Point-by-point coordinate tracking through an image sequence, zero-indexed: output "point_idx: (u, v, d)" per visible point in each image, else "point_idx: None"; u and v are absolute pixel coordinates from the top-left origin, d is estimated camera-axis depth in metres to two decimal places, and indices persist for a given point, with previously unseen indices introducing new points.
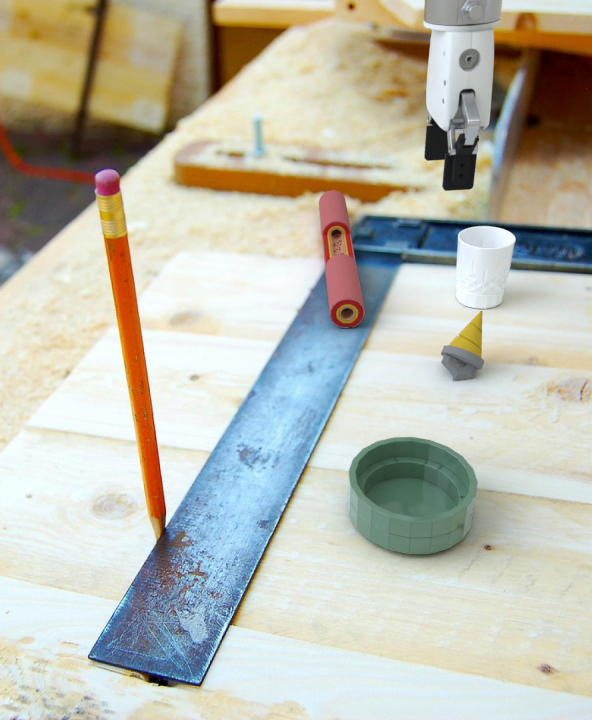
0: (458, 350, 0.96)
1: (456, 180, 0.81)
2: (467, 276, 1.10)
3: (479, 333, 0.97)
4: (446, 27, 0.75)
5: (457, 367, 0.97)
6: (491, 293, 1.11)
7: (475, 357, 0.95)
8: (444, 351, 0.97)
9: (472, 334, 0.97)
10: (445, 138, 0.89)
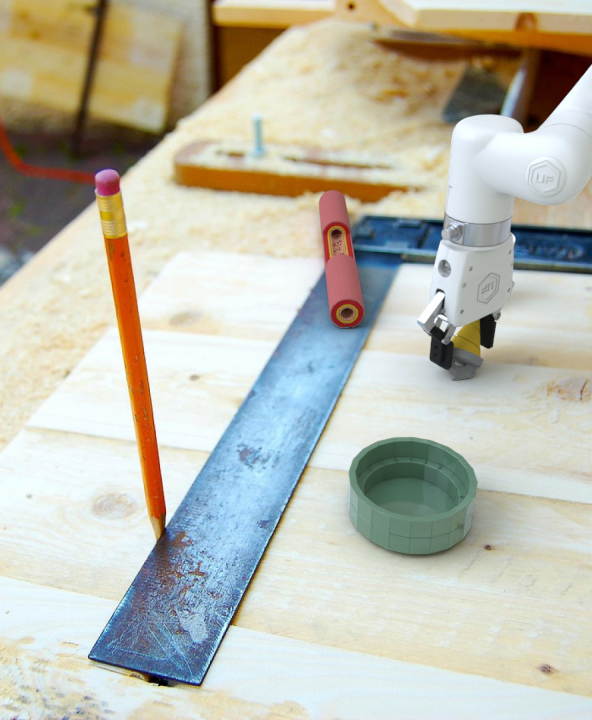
0: (456, 350, 0.96)
1: (432, 357, 0.96)
2: None
3: (477, 332, 0.97)
4: None
5: (456, 367, 0.97)
6: None
7: (473, 356, 0.95)
8: None
9: (470, 333, 0.97)
10: (484, 330, 0.99)
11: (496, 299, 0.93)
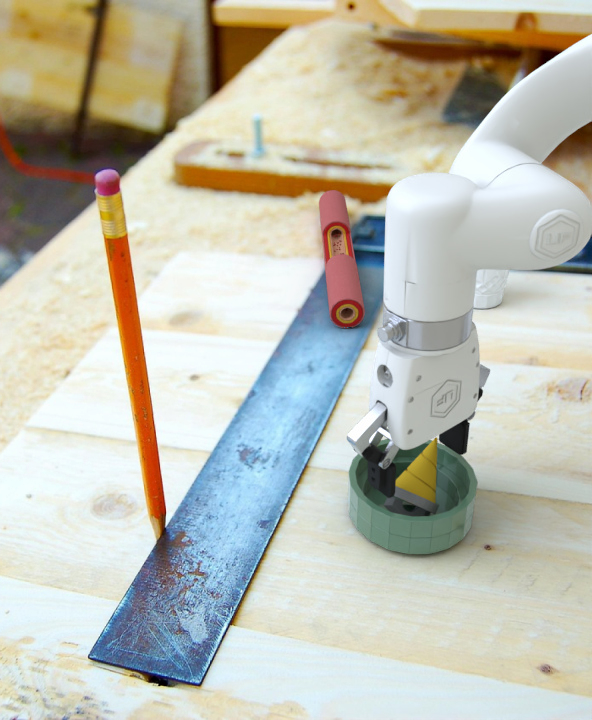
0: (404, 493, 0.74)
1: (370, 480, 0.73)
2: None
3: (432, 469, 0.76)
4: None
5: (404, 512, 0.76)
6: (491, 293, 1.11)
7: (426, 503, 0.74)
8: None
9: (424, 470, 0.75)
10: (455, 431, 0.76)
11: (458, 409, 0.70)
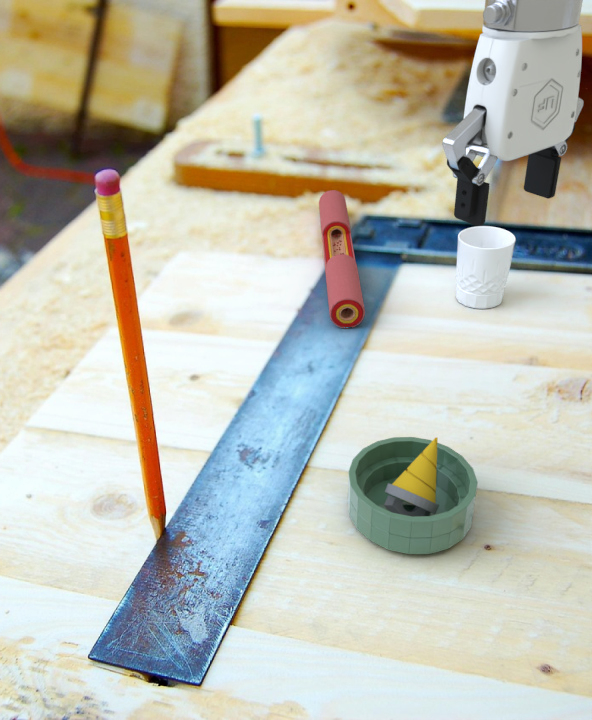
0: (404, 493, 0.74)
1: (459, 208, 0.69)
2: (467, 276, 1.10)
3: (432, 469, 0.76)
4: (484, 28, 0.64)
5: (404, 512, 0.76)
6: (491, 293, 1.11)
7: (426, 503, 0.74)
8: (388, 492, 0.76)
9: (424, 470, 0.75)
10: (544, 171, 0.73)
11: (556, 125, 0.67)
